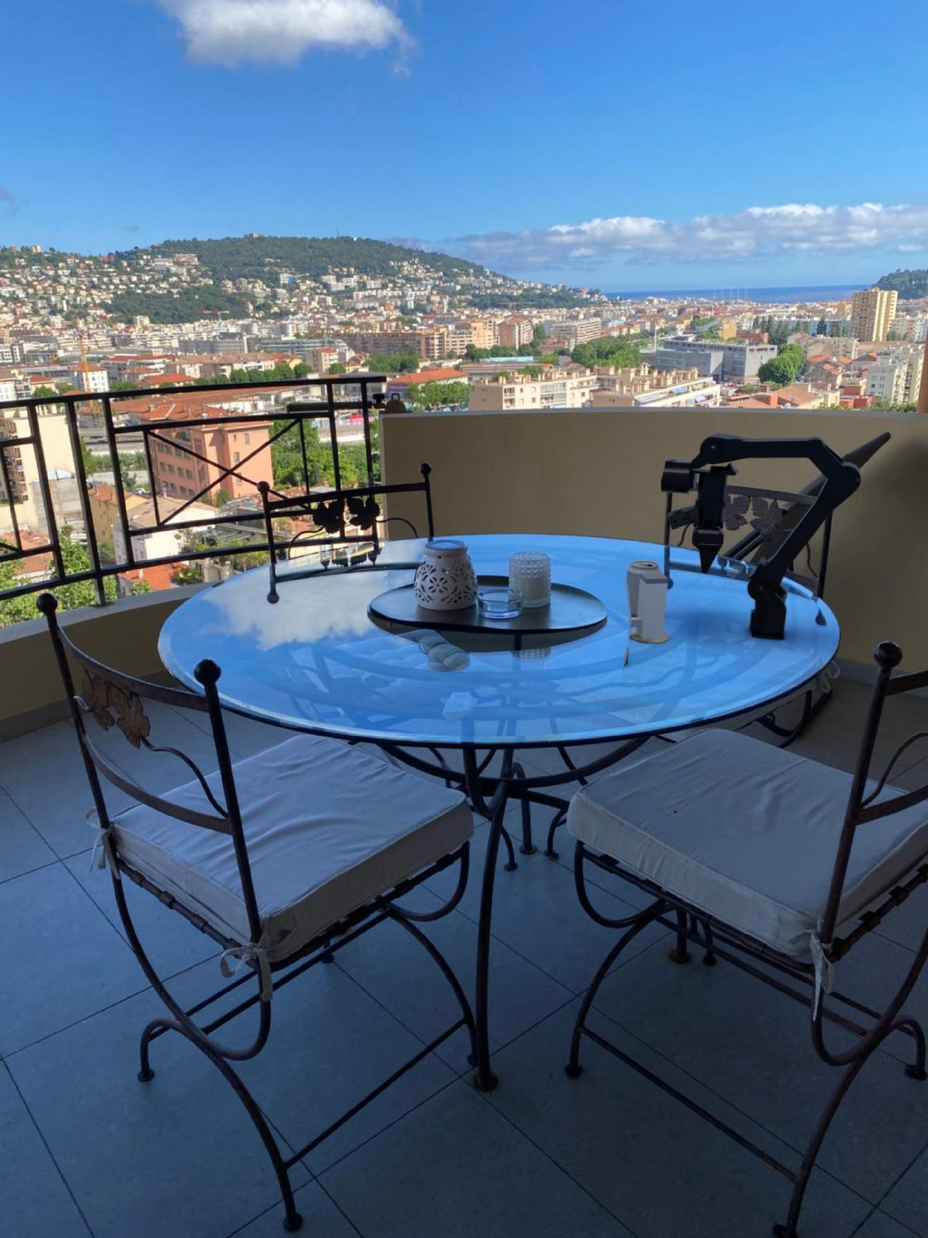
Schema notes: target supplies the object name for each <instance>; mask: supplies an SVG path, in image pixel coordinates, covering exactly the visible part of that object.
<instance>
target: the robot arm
mask: <svg viewBox="0 0 928 1238" xmlns="http://www.w3.org/2000/svg"><path fill="white" fill-rule="evenodd" d="M794 458H795V459H805V458H806V459H809V461H811V463H812V464H813V465H814V466H815V467H816V468H817V469H818V470H819V472H821V474H822V475H823V476H824V477H825V478H826V480H825V482H824V483H823V485H822V487H821V488H820V491H819V493H818V496H817V498H816V499H815V501H814V502H813V503H812V505H811V506H810V507H809V508H808V510H807V511H806V513H804V515H803V517H802V518H801V519H800V520H799V522H798V523H797V524H796V526H795V527H794V528H793V530H792V531H791V532H790V534H789V535H788V536H787V537H786V539H785V540H784V542H783V543H782V544H781V545H780V547H779V548H778V549H777V550H776V552H775V554H773V555H772V556H771V557H770V558H768V559H767V558H765V557H764V556H761V557H760V560H759V561H758V563H757V566H755V568H752V569H751V570H750V573H749V575H748V577H747V580H749V581H748V583H747V586H746V591H747V594H748V596H749V597H750V598H751V599H752V600H754V606H753V607H754V608H752V609H751V610H750V615H749V623H748V624H749V625H748V628H749V629H748V630H749V632H750V633H751V636H752V637H754V638H755V637H756V638H765V639H766V638H767V639H778V640H784V639H785V638H786V636H785V627H786V621H787V619H786V618H787V612H788V608H787V605H786V602H787V598H788V591H786V589H784V586H782V585H781V583H782V582H783V579H784V577H785V575H786V574H787V571H788V570H789V567H790V566H791V565H792V564H793V562H794V561H795V560H796V558H797V557H798V556H799V555H800V553H801V552H802V550H803V549H804V548H805V547H806V546H807V544H808V543H809V542H810V540H811V539H813V537H814V535H815V534H816V533H817V531H818V530H819V529H820V528H821V526H822V525H823V523H824V522H825V521H826V519H828V517H829V516H830V514H831V513H833V511H834V510H836V509H837V508H838V507H839V506H841V505H842V504H843V503H844V502H846V501H847V500H848V499H849V498H850V497H851V496H852V495H853V494H854V493H855V492H857V490H858V489H859V487H860V486H861V482H862V473H861V470H860V467H859V466H857V464H855V463H853V462H851V461H845V460H844V459H843V458H841V457H840V456H839V454H837V453H836V452H835V451H834V450H833V449H832V448H831V447H829V446H828V445H827V444H826V442H825V441H824V439H822V438H821V437H819V436H814V435H813V436H809V437H776V438H775V437H773V438H771V437H769V438H767V437H766V438H763V437H762V438H748V437H743V436H738V435H734V434H727V433H719V432H717V433H713V434H711V435H709V436H707V437H706V438H705V439H704V440H703V441H702V442H701V444H700V447H699V453H698V454H697V455H696V456H695V457H694V458H693V459H692V460H691V461H681V460H680V461H677V460H674V459H667V460H665V462H664V467H663V471H662V476H661V477H660V491H661V493H668V494H670V493H672V494H683V495H689V494H690V493H691V490H696V487H697V495H696V498H695V502H694V505H689V506H685V507H680V508H678V509H675V510H671V511H669V512H668V514H667V519H668V522H669V523H668V524H669V525H670V528H671V530H672V531H673V530H677V529H679V528H681V527H685V526H689V525H691V524H692V526H693V530H692V535H691V543H692V546H693V547H695V548H696V549H697V550H698V554H699V561H700V563H699V564H700V571H701V573H702V574H704V575H705V574H708V572H709V570H710V569H711V567H712V565H713V564H714V561H715V560H716V559H717V556H718V554H719V553H720V551H721V549H722V547H723V545H724V541H725V532H724V531H723V529H724V522H725V521H724V520H725V519H724V517H725V508H726V497H727V496H726V494H727V489H728V488H727V487H728V486H727V485H728V479H729V478H728V477H731V476H732V477H735V476H736V475H737V474H738V473H739V470H738V469H737V468H735V467H734V465H733V463H732V462H735V461H740V460H746V459H794ZM725 463H728V464H727V465H720V464H725ZM707 465H710V468H709V469H704V468H703V467H705V466H707ZM702 468H703V469H702ZM697 479H698V480H697ZM697 481H698V484H697Z"/></svg>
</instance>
